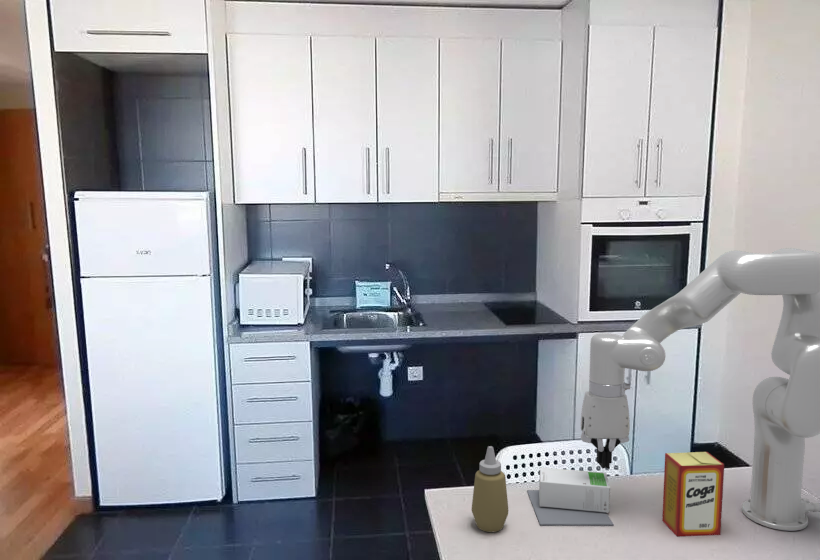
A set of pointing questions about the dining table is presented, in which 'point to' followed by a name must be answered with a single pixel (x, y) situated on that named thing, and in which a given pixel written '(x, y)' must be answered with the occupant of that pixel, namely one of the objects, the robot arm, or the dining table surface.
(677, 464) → the baking soda box
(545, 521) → the mat
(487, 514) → the squeeze bottle
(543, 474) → the skincare box
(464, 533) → the dining table surface
